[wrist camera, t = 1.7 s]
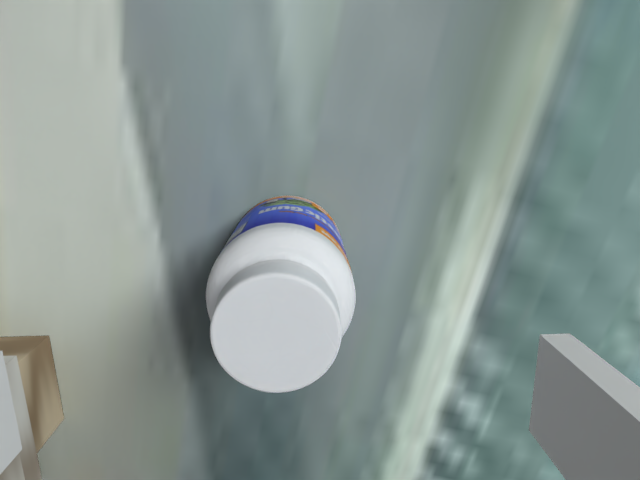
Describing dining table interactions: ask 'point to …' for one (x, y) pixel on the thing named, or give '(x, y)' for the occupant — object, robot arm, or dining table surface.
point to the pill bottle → (280, 296)
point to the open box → (31, 400)
